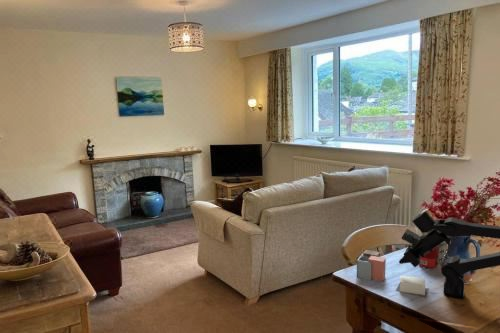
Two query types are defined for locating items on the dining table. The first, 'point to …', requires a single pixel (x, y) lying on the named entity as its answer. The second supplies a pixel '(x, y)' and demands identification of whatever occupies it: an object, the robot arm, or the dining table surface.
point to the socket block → (363, 267)
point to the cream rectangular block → (412, 285)
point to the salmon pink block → (377, 268)
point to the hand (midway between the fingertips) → (399, 262)
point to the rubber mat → (413, 293)
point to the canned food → (430, 259)
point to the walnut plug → (371, 253)
